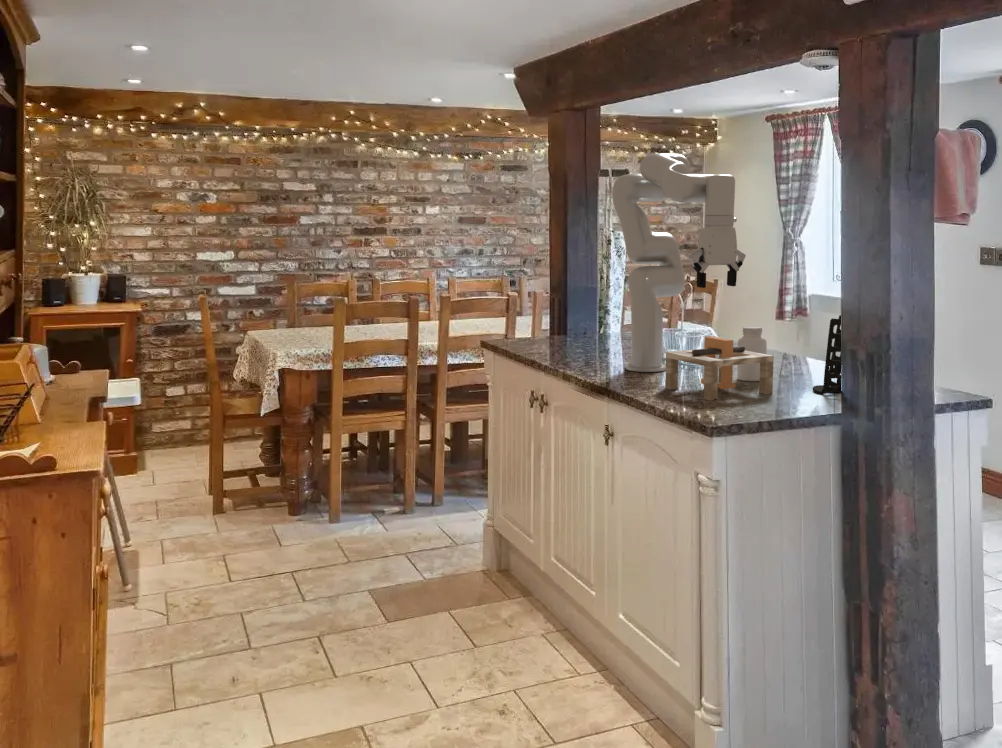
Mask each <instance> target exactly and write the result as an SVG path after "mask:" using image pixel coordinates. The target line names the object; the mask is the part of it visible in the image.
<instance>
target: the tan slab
mask: <svg viewBox="0 0 1002 748" xmlns="http://www.w3.org/2000/svg"><path fill="white" fill-rule="evenodd" d="M733 347H734V340H733V339H730V338H724V337H720V336H719V337H718V336H704V349H710V348H717V349H722V358H726V357H733ZM704 356H705V357H710V358H716V355H715V354H711V355H704ZM733 369H734V365H729V366H721V383H718V389H720V390H725V389H735V388H736V383H735V382H733V373H734V371H733ZM700 384H702V385H704V378H701V379H700Z"/></svg>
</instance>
